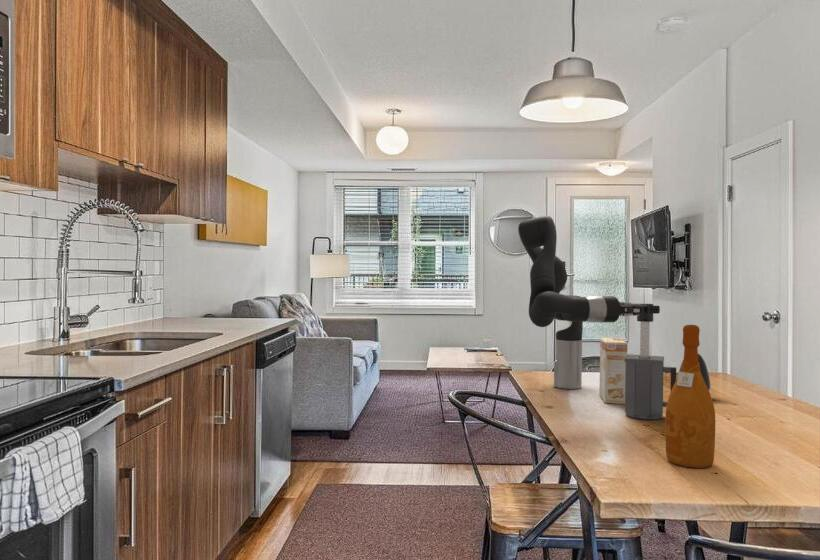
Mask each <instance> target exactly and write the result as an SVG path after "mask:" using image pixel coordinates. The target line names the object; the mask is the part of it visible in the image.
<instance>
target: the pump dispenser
mask: <svg viewBox="0 0 820 560" xmlns="http://www.w3.org/2000/svg"><path fill="white" fill-rule="evenodd" d="M698 362H699V365H700V371H701V374H702V377H703V379H704V381H705V383H706V386H707V388H708V390H709V391H710V390H711V379H710V374H709V371H708V367H707V364H706V362H705V359H704V357H703V356H702V355H701V354H700V353H698ZM682 363H683V360H682V361H681V364H680V367H679V371H678V374H677V376H678V375H679V372H680V371H681V367H682Z"/></svg>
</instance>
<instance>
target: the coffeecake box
mask: <svg viewBox="0 0 820 560" xmlns="http://www.w3.org/2000/svg"><path fill="white" fill-rule="evenodd" d="M599 340H600V341H599V345H600V346H599V391H598V392H599V394H598V395H599V396H600V397H601V400H603V403H604V404H613V405H615V404H617V405H625V374H626V362H625V357H626V356H627V355H628V344H629V343H628V342H626V341H625V340H623V339H622V338H615V337H600V338H599Z"/></svg>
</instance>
